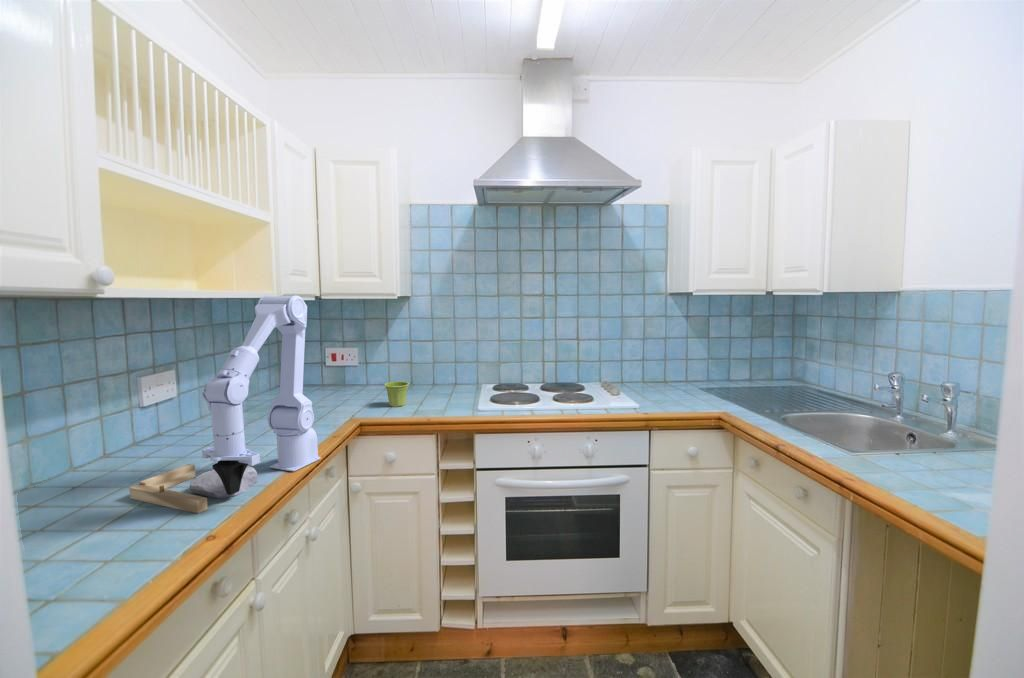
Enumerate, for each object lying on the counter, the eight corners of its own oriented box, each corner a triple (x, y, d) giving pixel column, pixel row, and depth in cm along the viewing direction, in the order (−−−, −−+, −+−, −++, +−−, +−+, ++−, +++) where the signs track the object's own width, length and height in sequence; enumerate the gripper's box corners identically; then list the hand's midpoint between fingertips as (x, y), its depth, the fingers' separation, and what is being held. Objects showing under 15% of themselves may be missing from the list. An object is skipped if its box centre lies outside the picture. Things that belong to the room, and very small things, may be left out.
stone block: (235, 506, 99) (262, 479, 108) (229, 487, 97) (257, 461, 107) (184, 506, 100) (215, 479, 109) (178, 488, 98) (210, 462, 108)
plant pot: (412, 402, 183) (412, 381, 182) (405, 408, 174) (404, 386, 173) (390, 402, 184) (389, 381, 183) (381, 408, 175) (380, 386, 174)
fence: (189, 475, 111) (188, 461, 111) (253, 487, 104) (252, 472, 104) (130, 498, 99) (128, 482, 98) (198, 513, 92) (196, 496, 91)
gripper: (186, 434, 95) (191, 495, 97) (236, 441, 91) (241, 505, 92) (217, 425, 102) (222, 482, 103) (266, 431, 97) (270, 491, 99)
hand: (233, 492), depth 98 cm, fingers closed
